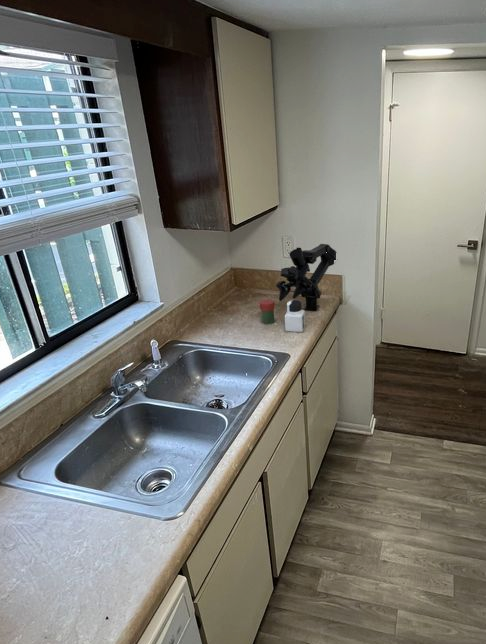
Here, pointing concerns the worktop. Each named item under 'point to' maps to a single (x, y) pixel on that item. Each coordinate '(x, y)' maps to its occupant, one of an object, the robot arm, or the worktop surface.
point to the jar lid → (267, 305)
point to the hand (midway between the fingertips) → (286, 299)
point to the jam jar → (267, 316)
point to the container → (294, 317)
